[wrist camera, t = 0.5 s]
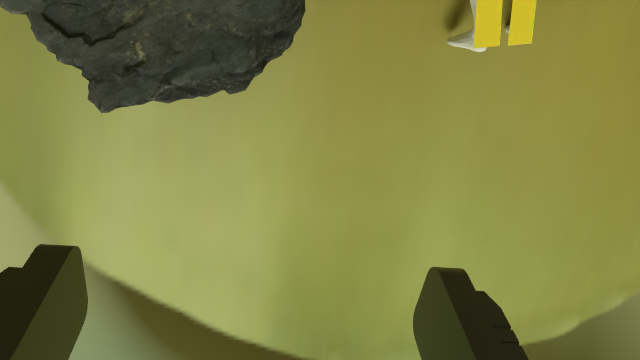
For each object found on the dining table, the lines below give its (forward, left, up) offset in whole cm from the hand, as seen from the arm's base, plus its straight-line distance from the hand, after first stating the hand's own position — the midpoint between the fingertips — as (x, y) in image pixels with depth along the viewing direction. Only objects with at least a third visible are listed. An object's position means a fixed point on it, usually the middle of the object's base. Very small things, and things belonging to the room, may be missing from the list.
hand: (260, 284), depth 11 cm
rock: (-4, -5, -28) cm, 29 cm away
